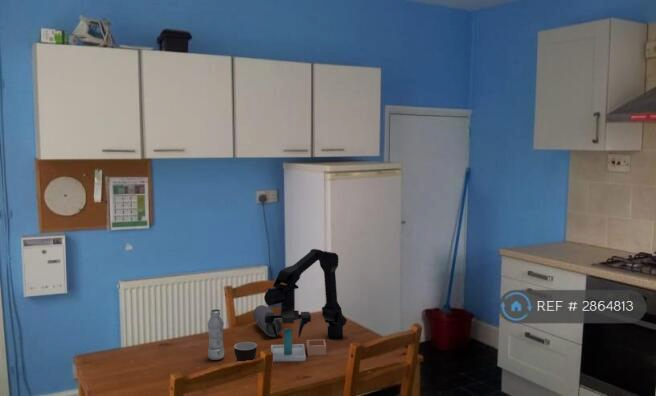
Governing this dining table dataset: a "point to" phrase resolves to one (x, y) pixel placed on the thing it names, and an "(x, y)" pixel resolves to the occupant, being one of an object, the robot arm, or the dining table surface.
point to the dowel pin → (287, 341)
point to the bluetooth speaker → (260, 320)
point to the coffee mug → (245, 351)
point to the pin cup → (316, 347)
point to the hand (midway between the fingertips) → (287, 337)
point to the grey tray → (296, 355)
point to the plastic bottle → (215, 336)
